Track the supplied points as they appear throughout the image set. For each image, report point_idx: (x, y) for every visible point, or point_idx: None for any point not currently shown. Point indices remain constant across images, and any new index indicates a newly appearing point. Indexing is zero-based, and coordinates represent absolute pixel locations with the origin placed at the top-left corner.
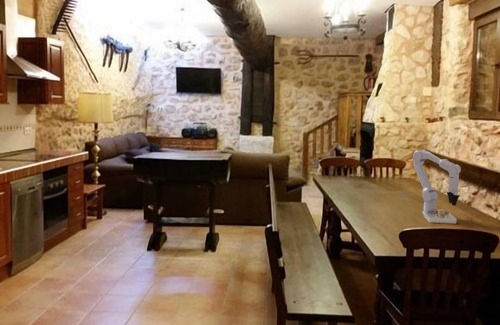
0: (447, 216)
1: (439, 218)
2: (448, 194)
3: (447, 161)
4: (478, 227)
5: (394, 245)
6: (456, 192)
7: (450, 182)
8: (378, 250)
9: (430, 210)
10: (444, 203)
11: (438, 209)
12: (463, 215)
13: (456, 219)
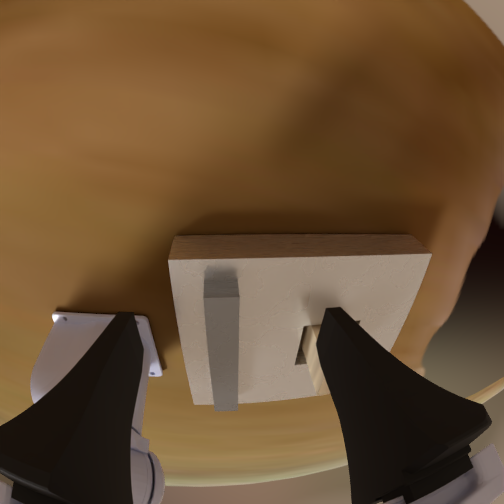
0: (349, 304)
1: (390, 348)
2: (128, 486)
3: None
4: (483, 118)
5: (494, 384)
6: (496, 488)
7: None
8: (496, 392)
9: (224, 400)
10: None
11: (317, 394)
12: (46, 83)
13: (429, 252)
